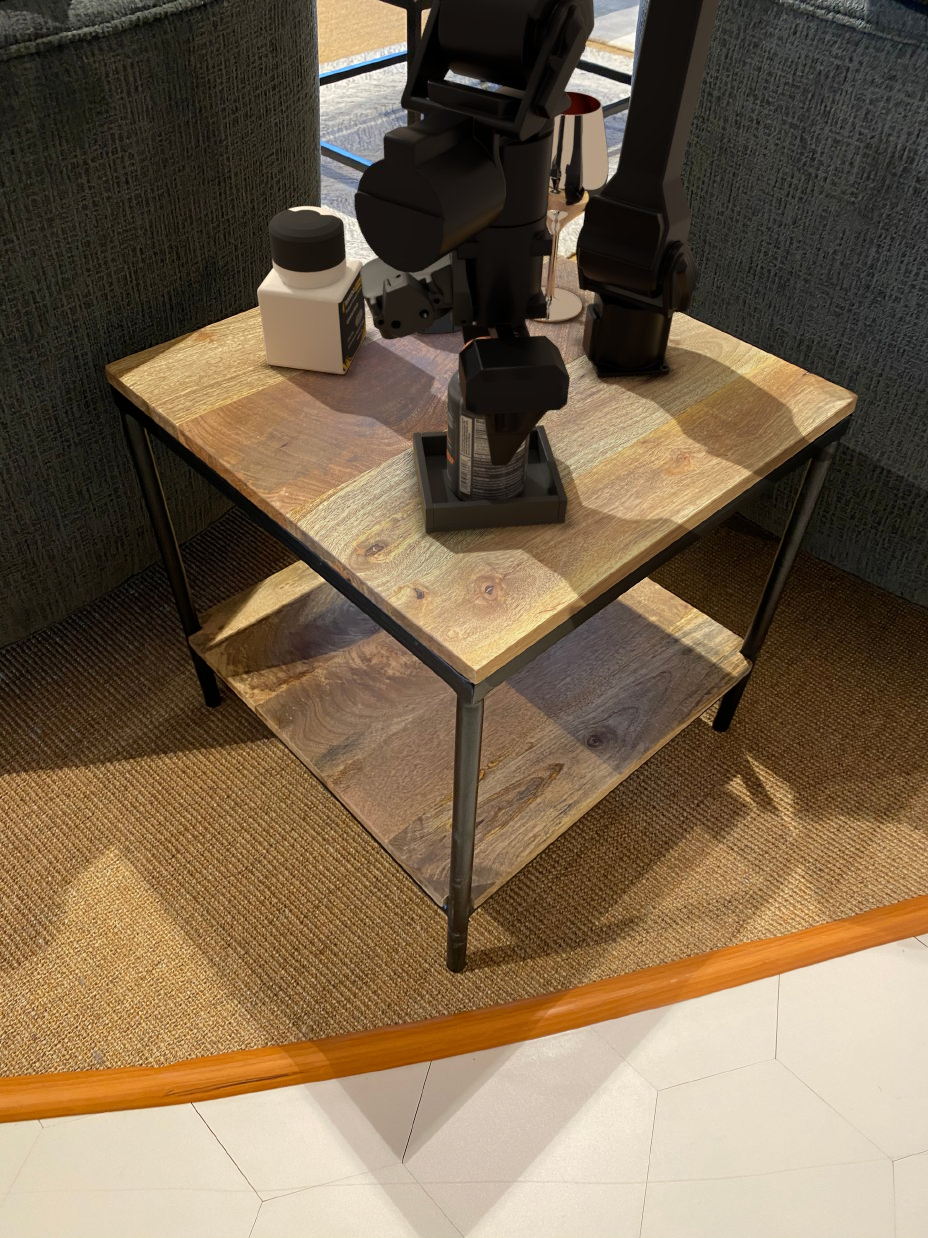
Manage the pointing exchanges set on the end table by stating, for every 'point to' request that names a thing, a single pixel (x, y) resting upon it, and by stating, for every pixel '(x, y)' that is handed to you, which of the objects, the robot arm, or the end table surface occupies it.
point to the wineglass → (573, 186)
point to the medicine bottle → (311, 293)
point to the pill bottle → (478, 454)
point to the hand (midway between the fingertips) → (489, 425)
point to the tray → (451, 513)
